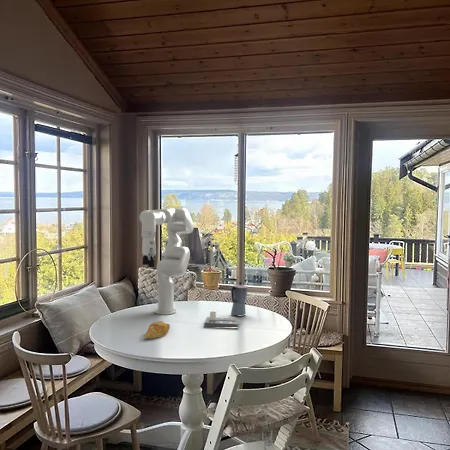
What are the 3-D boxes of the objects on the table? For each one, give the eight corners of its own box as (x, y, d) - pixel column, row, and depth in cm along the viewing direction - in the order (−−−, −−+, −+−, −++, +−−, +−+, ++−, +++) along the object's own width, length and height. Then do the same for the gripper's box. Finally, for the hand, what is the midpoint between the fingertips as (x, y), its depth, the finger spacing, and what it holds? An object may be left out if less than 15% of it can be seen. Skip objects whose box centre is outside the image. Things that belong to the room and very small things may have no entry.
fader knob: (210, 321, 256) (210, 309, 255) (215, 321, 255) (216, 309, 255) (209, 323, 252) (210, 311, 251) (215, 323, 251) (215, 311, 251)
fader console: (206, 321, 260) (206, 316, 260) (238, 322, 258) (238, 318, 258) (204, 327, 248) (204, 322, 248) (237, 328, 247) (237, 323, 246)
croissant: (150, 348, 222) (157, 335, 220) (135, 336, 225) (141, 322, 223) (172, 335, 241) (178, 323, 239) (157, 324, 244) (164, 312, 242)
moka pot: (251, 313, 279) (252, 281, 278) (238, 319, 266) (239, 285, 265) (238, 311, 285) (238, 279, 283) (224, 316, 272) (225, 283, 270)
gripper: (160, 236, 244) (160, 268, 245) (150, 233, 259) (149, 263, 260) (146, 236, 240) (146, 268, 241) (137, 233, 256) (136, 264, 257)
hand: (148, 265), depth 251 cm, fingers open, 9 cm apart
